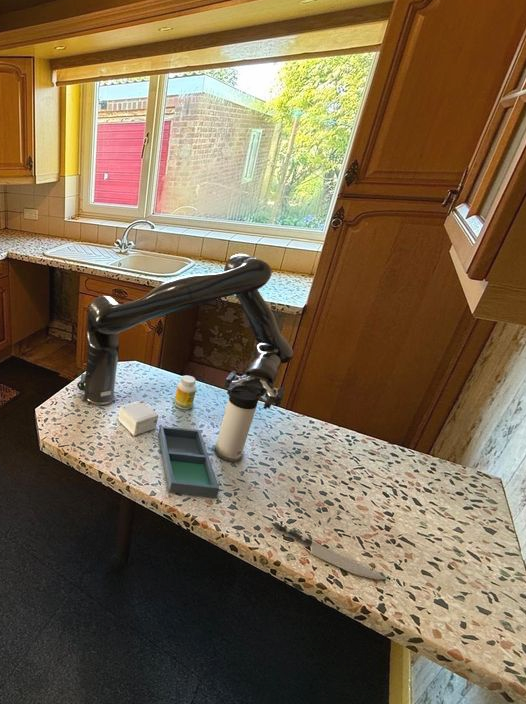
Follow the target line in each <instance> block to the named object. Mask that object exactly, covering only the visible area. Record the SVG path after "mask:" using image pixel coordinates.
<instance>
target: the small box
mask: <svg viewBox="0 0 526 704" xmlns="http://www.w3.org/2000/svg"><path fill="white" fill-rule="evenodd" d="M117 418H118V419H117V420H118V421H119V422H120V424H122V426H123V427H125V429H126V430H128V432H129V433H130V434H132V436H134V437H135V436H137V435H140V434H143V433H146V432H149V431H152V430H156V428H157V424H158V420H159V419H158V418H159V414H158V413H157V412H156V411H155V410H153V409H152V408H151V407H150V406H149V405H147V403H145V402H144V401H143V400H138V401H135V402H130V403H128V404H124V405H121V406H119V411H118V417H117Z"/></svg>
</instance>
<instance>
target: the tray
mask: <svg viewBox="0 0 526 704" xmlns="http://www.w3.org/2000/svg"><path fill="white" fill-rule="evenodd" d="M157 435H158V440H159V445H160V450H161V455H162V460H163V466H164V471H165V477H166V483H167V488H168V492H169V493H175V494H183V495H189V496H199V497H207V498H214V499H215V498H216V499H217V498H218V494H219V491H220V487H219V484H218V481H217V477H216V473H215V471H214V468H213V466H212V465H213V464H212V463H211V459H210V456H209V453H208V450H207V447H206V444H205V442H204V438H203V436H202V432H201V430H200V429H193V428H192V429H191V428H182V427H173V426H165V425H163V426H162V425H160V426H159V430H158V434H157Z"/></svg>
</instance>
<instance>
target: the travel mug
mask: <svg viewBox="0 0 526 704" xmlns="http://www.w3.org/2000/svg"><path fill="white" fill-rule="evenodd" d="M261 396H262V394H261V392H260V390H256V389H254V388H252V387H249V386H237V385H236V387H233V388H232V390H231V393H230V396H229V395H228V399H227V402H226V407H225V410H224V414H223V418H222V421H221V426H220V428H219V432H218V435H217V439H216V444H215V447H214V451H215V453H216V455H217V456H218V457H219V458H221V459H222V460H225V461H228V462H237V461H239V460H240V459H241V457H242V454H243V451H244V448H245V444H246V442H247V439H248V435H249V432H250V428H251V426H252V424H253V420H254V417H255V413H256V410H257V408H258V407H257V406H258V403H259V399H260V397H261Z"/></svg>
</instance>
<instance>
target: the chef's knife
mask: <svg viewBox="0 0 526 704" xmlns="http://www.w3.org/2000/svg"><path fill="white" fill-rule="evenodd" d="M273 525H274V528H275V529H276V530H277V531H278V532H282V533H284V534H287V535H289V536H291V537H293V538H295V539H297V540H299V541H300V542H302V543H303V544H306V545H308V546H309V547H310V552H311V555H313V556H315V557H317V558H320V559H321V560H324V561H325V562H328V563H330V564H332V565H334V566H336V567H338V568H340V569H342V570H344V571H346V572H349V573H351V574H353V575H357V576H361V577H365V578H368V579H374V580H388V578H386V577H385V576H383V575H381V574H380V573H377V572H375V571H374V570H371V569H369V568H368V567H365V566H363V565H361V564H359V563H358V562H355V561H353V560H351V559H350V558H348V557H346V556H343V555H341V554H340V553H337V552H335V551H334V550H332V549H330V548H327V547H325V546H324V545H321V544H319V543H317V542H315V541H314V540H311V539H309V538H307V537H305V536H303V535H301V534H299V533H297V532H295V531H292V530H291V529H288V528H286V527H285V526H283V525H281V524H279V523H278V524H277V523H275V524H273Z"/></svg>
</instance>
